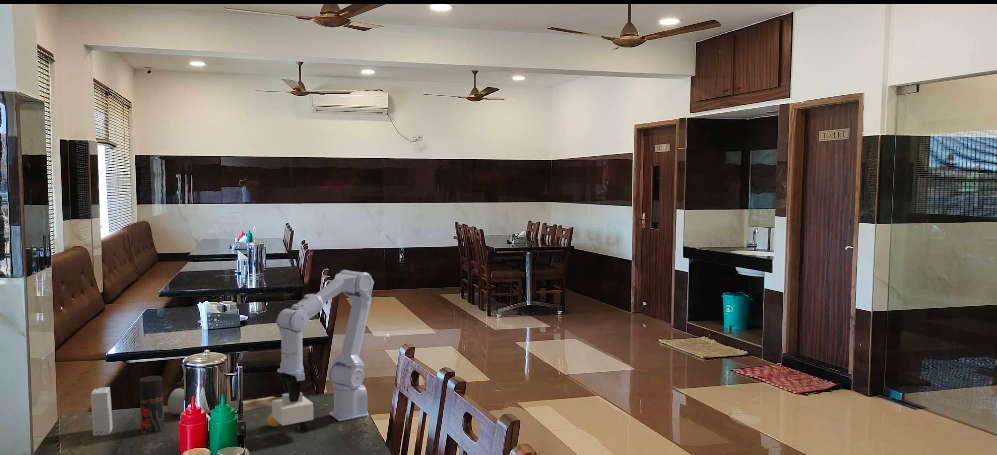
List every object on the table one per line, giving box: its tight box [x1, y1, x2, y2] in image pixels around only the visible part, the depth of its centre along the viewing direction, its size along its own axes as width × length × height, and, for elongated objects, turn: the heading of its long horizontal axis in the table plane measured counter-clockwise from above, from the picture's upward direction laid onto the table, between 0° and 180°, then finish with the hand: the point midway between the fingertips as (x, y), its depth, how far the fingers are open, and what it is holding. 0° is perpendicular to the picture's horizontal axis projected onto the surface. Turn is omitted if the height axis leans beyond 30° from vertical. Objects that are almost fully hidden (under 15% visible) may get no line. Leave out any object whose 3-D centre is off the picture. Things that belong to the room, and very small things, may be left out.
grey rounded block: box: [167, 388, 184, 416], centre depth 226 cm, size 11×8×8 cm
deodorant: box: [138, 375, 165, 435], centre depth 211 cm, size 6×6×15 cm
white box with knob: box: [271, 391, 314, 426], centre depth 207 cm, size 9×9×7 cm
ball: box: [266, 412, 281, 428], centre depth 215 cm, size 4×4×4 cm
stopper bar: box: [242, 396, 276, 412], centre depth 231 cm, size 12×2×2 cm, turn 124°
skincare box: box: [90, 386, 114, 437], centre depth 209 cm, size 6×4×12 cm
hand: (292, 399), depth 207 cm, fingers closed on white box with knob, 2 cm apart
